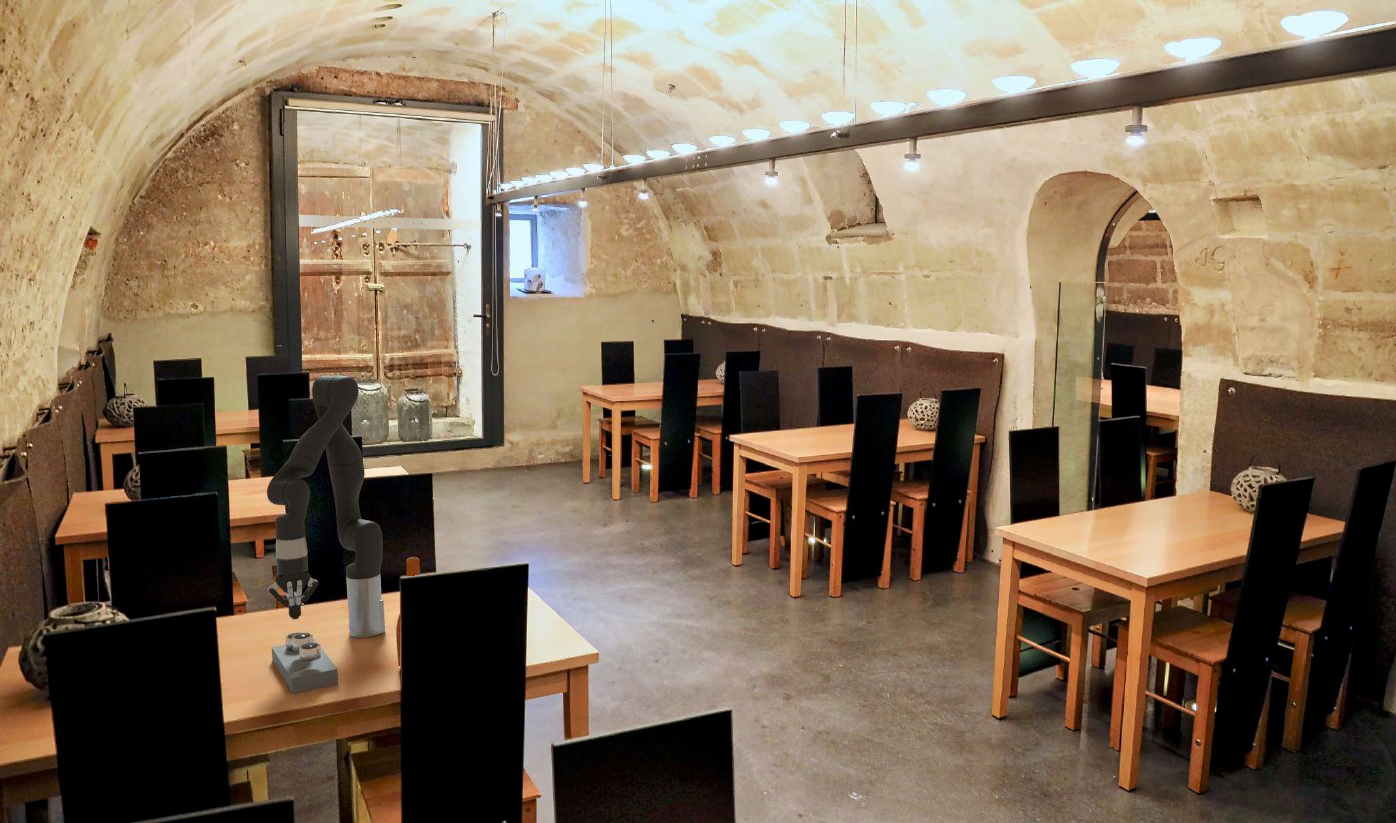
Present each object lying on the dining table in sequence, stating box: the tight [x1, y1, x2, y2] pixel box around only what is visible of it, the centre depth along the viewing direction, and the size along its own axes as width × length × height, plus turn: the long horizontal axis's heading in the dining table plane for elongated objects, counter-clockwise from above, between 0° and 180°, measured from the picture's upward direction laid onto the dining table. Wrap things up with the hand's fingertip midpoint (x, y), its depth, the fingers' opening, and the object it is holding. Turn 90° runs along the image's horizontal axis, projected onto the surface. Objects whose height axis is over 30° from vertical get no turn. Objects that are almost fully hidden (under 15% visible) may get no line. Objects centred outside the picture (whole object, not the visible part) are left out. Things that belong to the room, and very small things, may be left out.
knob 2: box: [292, 632, 314, 651], centre depth 266 cm, size 5×5×3 cm
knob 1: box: [285, 632, 300, 650], centre depth 274 cm, size 5×5×3 cm
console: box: [271, 638, 339, 695], centre depth 267 cm, size 11×25×4 cm, turn 33°
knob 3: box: [299, 642, 322, 662], centre depth 259 cm, size 5×5×3 cm
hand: (295, 618), depth 269 cm, fingers closed
